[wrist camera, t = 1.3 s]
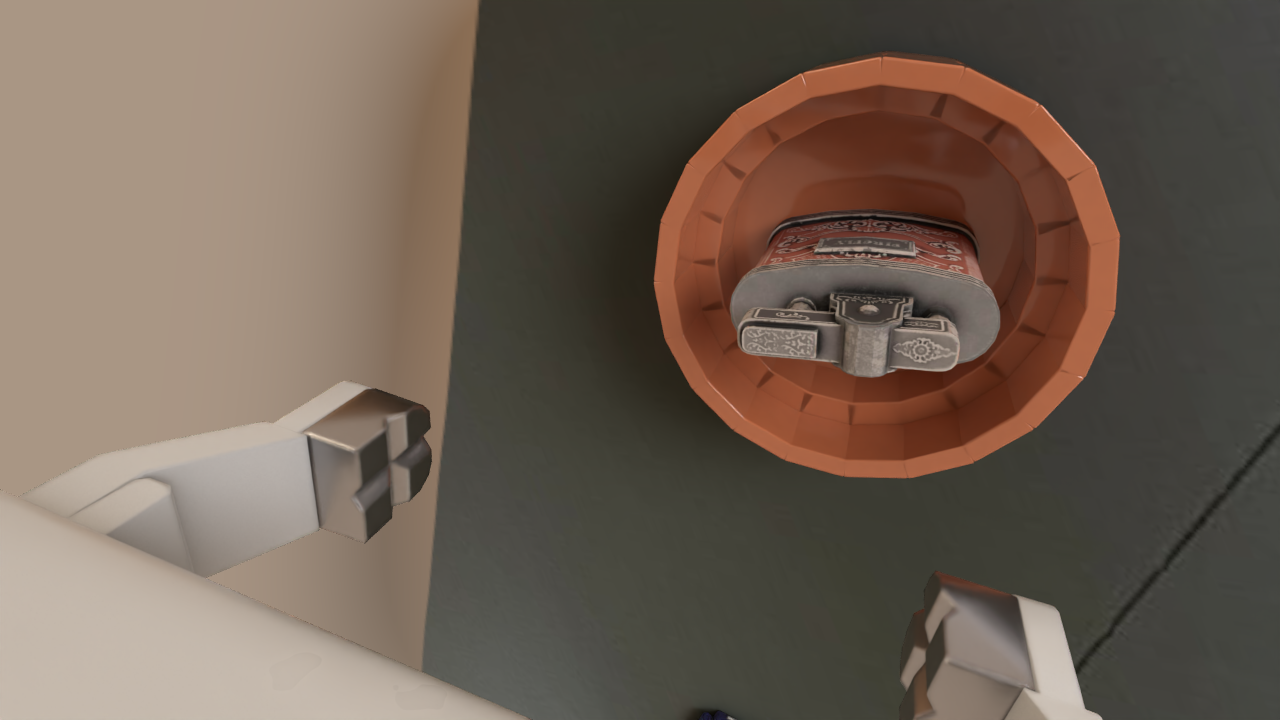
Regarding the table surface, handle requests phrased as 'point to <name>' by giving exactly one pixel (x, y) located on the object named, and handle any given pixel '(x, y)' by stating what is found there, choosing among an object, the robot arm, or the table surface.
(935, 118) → the bowl
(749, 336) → the lighter
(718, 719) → the laptop
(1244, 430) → the table surface
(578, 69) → the table surface
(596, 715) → the table surface
